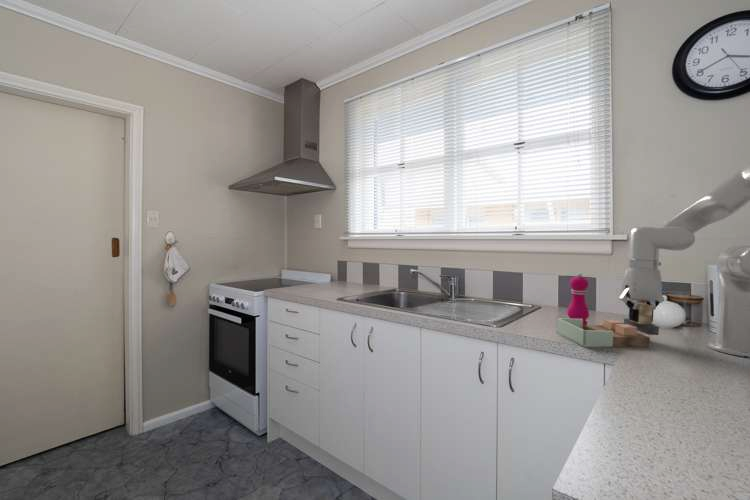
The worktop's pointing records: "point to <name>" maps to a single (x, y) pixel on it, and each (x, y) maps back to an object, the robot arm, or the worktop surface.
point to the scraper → (644, 320)
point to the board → (622, 337)
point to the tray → (583, 333)
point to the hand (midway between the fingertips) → (640, 320)
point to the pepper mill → (578, 299)
